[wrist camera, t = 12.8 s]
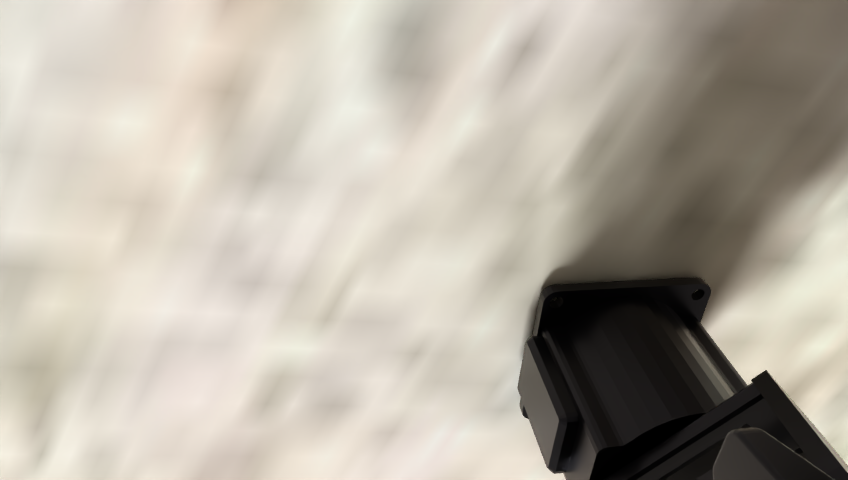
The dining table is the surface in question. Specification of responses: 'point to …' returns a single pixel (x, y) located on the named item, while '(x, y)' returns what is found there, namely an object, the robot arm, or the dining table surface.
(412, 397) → the dining table surface
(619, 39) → the dining table surface
